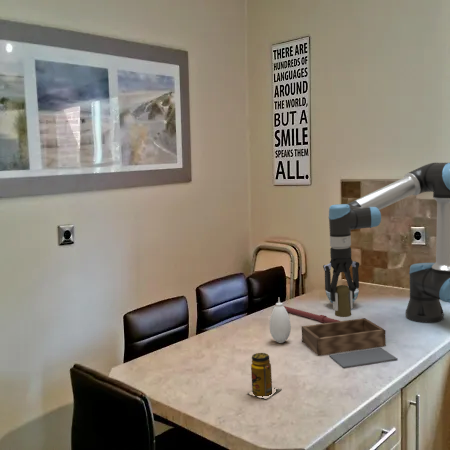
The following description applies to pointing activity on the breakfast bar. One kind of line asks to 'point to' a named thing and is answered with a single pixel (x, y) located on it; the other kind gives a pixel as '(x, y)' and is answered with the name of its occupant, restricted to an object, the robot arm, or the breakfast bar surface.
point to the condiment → (261, 375)
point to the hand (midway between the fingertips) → (342, 308)
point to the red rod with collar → (310, 315)
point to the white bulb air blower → (280, 323)
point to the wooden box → (343, 336)
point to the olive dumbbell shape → (343, 301)
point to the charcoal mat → (362, 357)
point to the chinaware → (352, 299)
